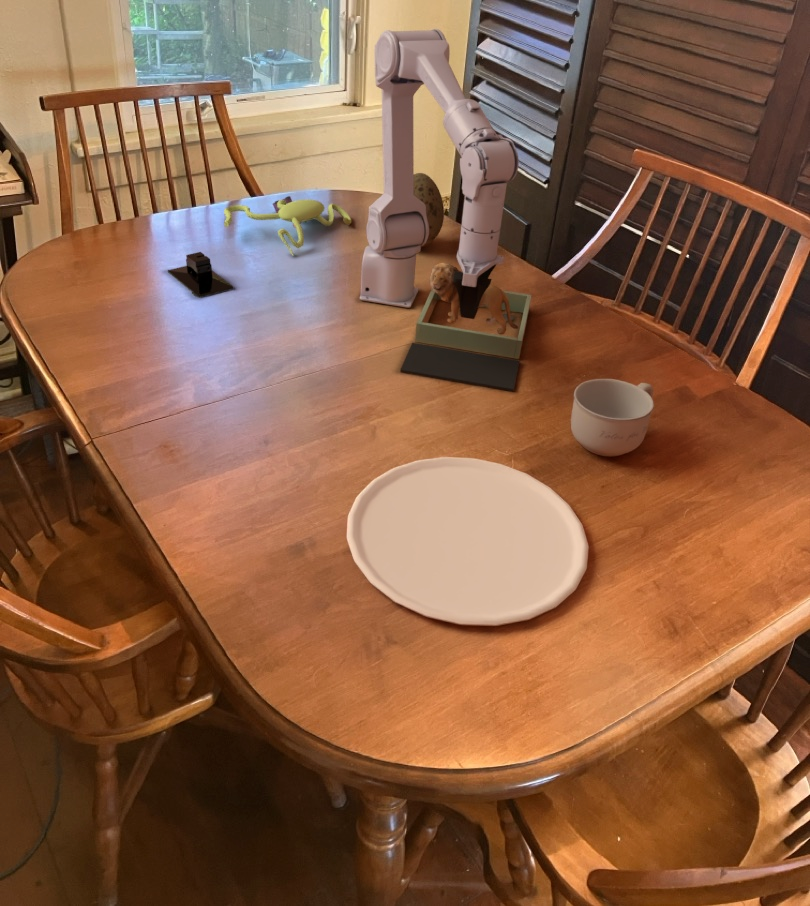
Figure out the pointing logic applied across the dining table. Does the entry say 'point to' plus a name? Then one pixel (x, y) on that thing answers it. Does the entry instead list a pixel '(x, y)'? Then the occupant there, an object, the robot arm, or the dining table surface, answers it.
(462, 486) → the plate
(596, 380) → the teacup
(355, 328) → the dining table surface
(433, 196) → the decorative egg
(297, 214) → the figurine
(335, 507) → the dining table surface
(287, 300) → the dining table surface
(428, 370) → the mat
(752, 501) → the dining table surface
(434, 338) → the green square tray
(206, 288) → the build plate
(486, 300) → the lion figurine
